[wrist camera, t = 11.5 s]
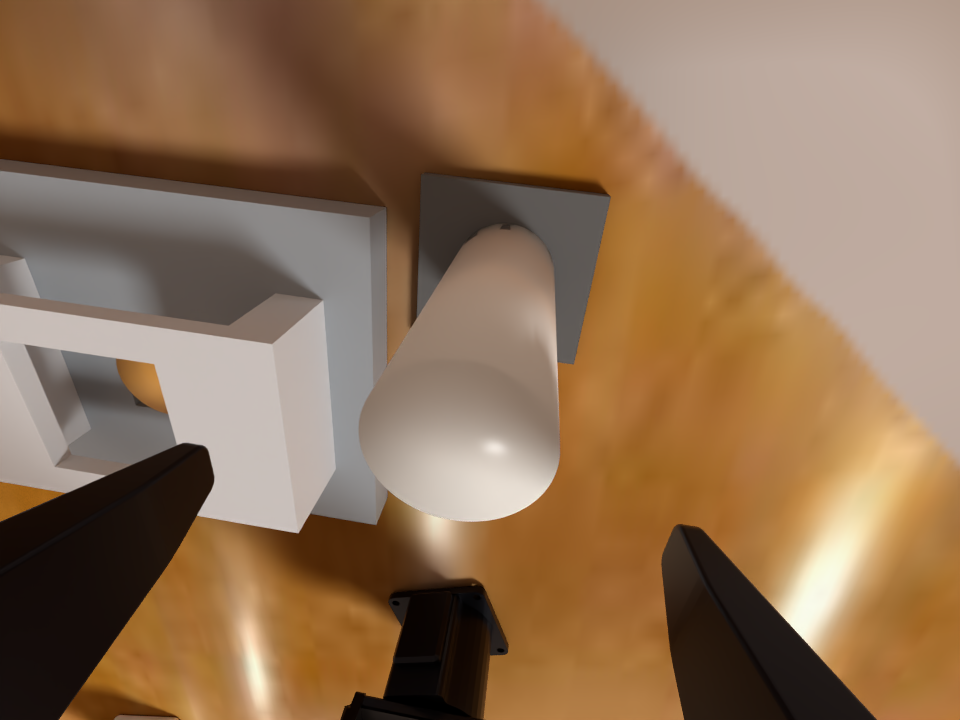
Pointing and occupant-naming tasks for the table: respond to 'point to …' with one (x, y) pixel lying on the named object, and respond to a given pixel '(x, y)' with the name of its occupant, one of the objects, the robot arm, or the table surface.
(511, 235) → the white cylinder
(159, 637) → the table surface
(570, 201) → the pad
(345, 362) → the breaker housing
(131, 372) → the button
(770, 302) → the table surface
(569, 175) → the table surface
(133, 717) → the medicine bottle
